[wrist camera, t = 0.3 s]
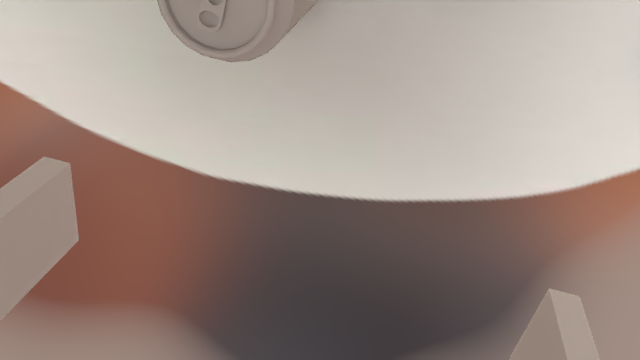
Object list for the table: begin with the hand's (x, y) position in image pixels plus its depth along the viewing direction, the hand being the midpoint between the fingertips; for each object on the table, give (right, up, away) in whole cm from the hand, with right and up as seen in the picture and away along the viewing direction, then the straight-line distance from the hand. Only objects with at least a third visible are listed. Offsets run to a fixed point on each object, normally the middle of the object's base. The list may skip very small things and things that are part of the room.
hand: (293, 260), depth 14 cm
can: (-2, +17, +21) cm, 27 cm away
